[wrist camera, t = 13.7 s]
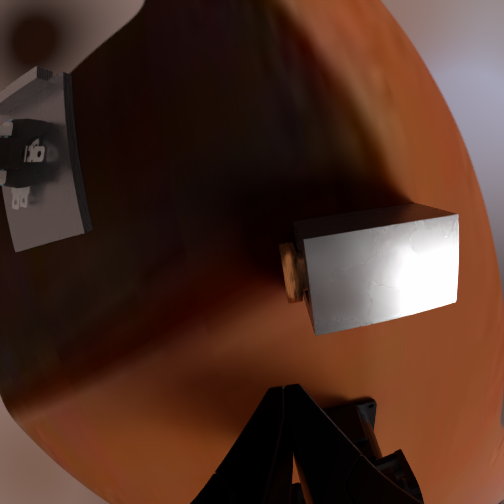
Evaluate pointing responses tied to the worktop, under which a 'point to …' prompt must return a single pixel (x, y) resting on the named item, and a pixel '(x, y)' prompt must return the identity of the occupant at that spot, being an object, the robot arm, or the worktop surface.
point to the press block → (377, 264)
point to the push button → (20, 156)
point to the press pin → (293, 272)
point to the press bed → (47, 162)
